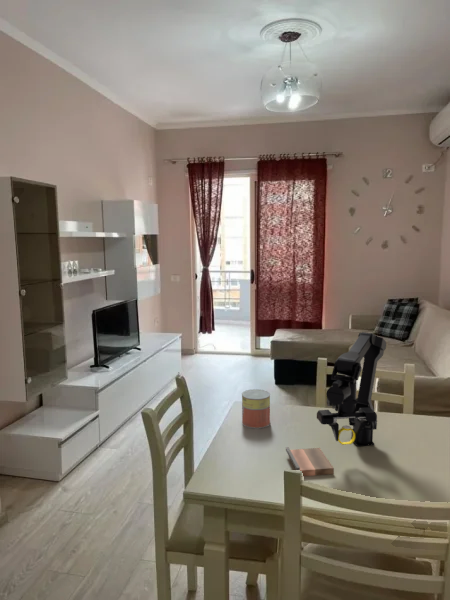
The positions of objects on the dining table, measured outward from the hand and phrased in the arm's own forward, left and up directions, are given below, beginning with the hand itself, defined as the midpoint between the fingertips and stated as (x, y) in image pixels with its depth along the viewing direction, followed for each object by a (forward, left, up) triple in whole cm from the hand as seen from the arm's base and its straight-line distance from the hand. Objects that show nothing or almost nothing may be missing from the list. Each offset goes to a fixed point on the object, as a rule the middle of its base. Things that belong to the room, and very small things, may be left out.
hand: (345, 440), depth 152 cm
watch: (0, 0, -1) cm, 1 cm away
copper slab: (+13, +1, -7) cm, 15 cm away
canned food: (+24, -35, -7) cm, 43 cm away
